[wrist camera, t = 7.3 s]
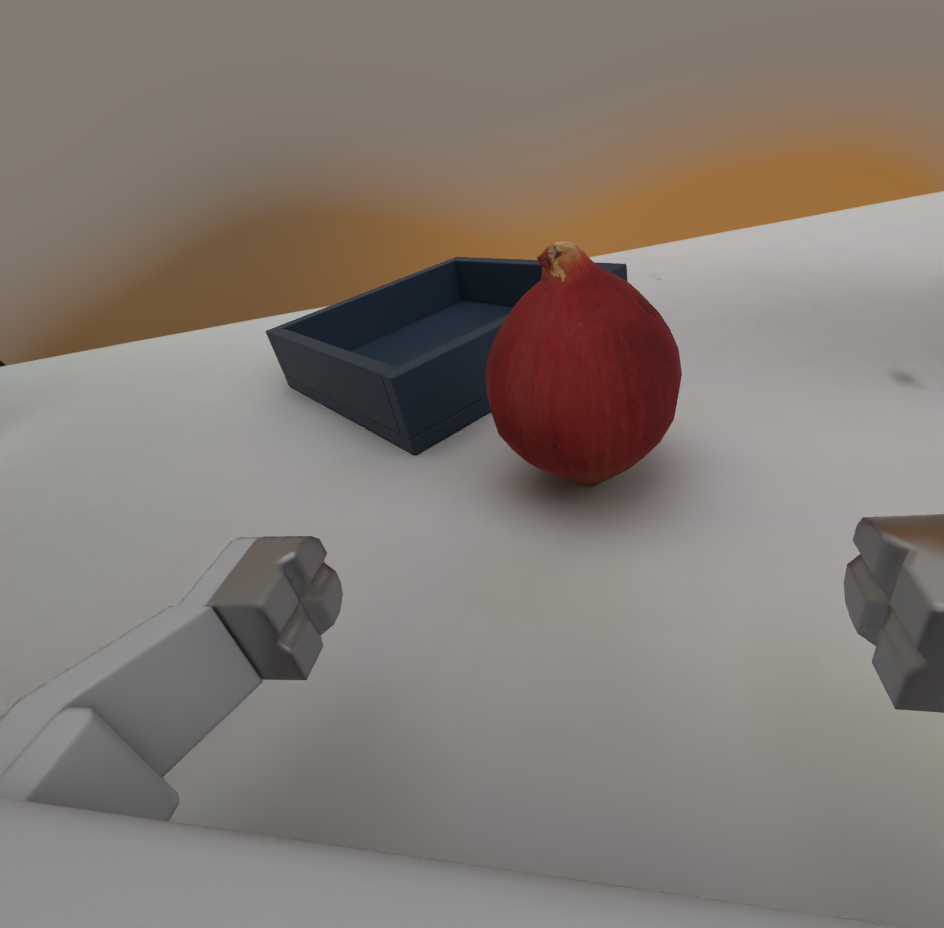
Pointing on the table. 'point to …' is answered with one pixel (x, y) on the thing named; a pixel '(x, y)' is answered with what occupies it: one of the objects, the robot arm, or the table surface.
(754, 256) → the table surface
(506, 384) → the onion
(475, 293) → the tray
